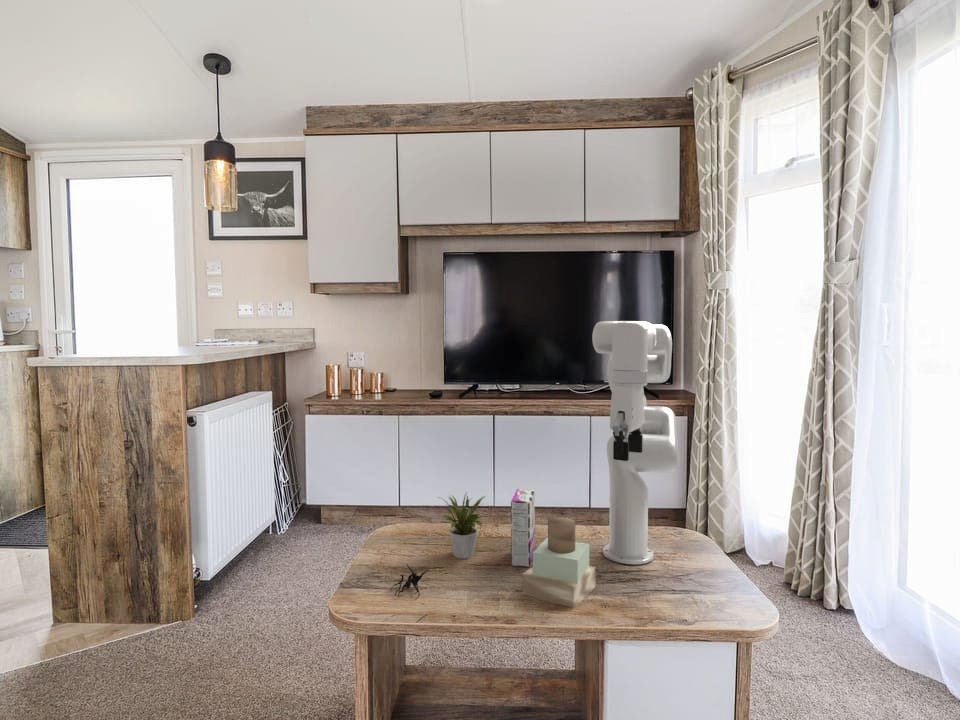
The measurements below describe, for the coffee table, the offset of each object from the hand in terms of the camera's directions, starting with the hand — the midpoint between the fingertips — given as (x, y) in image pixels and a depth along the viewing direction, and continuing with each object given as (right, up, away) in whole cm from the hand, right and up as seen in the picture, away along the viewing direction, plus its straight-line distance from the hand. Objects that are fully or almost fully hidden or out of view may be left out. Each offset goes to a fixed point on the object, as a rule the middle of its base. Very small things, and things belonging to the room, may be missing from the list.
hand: (628, 455), depth 126 cm
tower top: (-14, -26, +2) cm, 30 cm away
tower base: (-15, -31, +2) cm, 34 cm away
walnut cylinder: (-14, -21, +1) cm, 25 cm away
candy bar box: (-22, -30, +20) cm, 42 cm away
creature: (-48, -31, +1) cm, 57 cm away
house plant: (-38, -29, +22) cm, 53 cm away
